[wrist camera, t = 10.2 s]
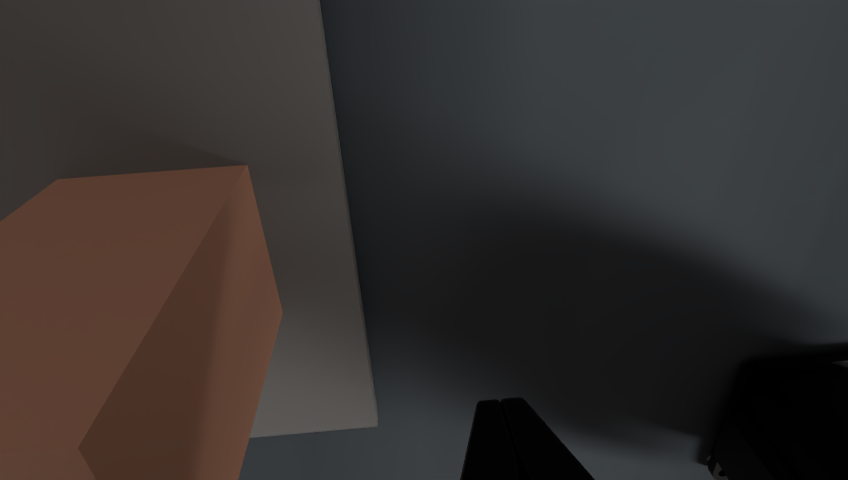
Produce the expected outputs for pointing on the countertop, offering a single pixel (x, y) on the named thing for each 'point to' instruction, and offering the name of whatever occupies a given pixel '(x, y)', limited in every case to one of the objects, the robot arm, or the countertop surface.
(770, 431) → the robot arm
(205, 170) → the block
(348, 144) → the countertop surface
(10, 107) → the mat
